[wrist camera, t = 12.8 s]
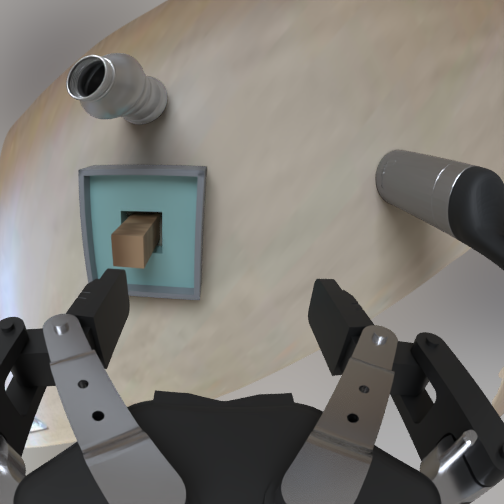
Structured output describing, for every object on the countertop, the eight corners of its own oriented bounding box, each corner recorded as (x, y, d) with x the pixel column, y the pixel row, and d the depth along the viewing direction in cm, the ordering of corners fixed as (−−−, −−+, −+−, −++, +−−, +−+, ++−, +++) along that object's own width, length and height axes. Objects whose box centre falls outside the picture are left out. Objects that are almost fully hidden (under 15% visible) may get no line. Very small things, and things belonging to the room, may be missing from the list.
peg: (159, 213, 40) (143, 236, 31) (159, 239, 42) (144, 268, 33) (133, 212, 40) (110, 234, 31) (134, 237, 41) (113, 266, 32)
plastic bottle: (117, 111, 34) (38, 99, 15) (144, 71, 32) (84, 27, 14) (151, 133, 36) (91, 134, 17) (180, 93, 34) (143, 56, 16)
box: (206, 166, 39) (204, 170, 34) (201, 283, 45) (199, 300, 41) (93, 165, 36) (78, 169, 32) (100, 276, 43) (90, 291, 38)
